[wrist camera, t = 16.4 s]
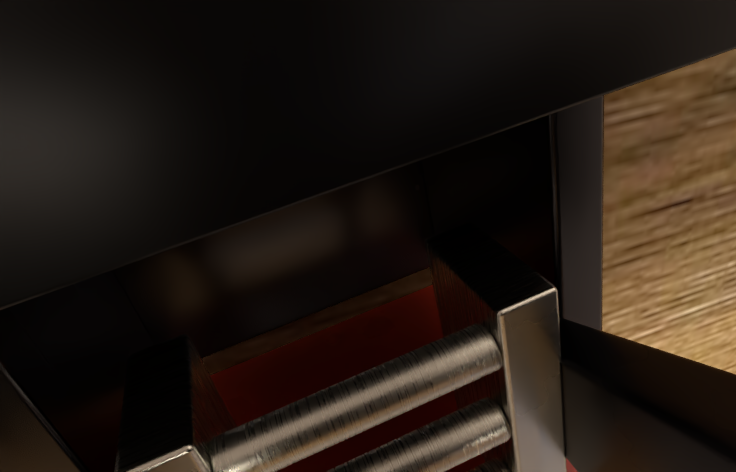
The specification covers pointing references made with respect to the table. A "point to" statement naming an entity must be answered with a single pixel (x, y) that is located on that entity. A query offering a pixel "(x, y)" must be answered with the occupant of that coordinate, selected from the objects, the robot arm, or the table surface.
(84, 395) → the red drawer
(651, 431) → the robot arm
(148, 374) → the wire rack
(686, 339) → the table surface
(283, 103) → the mini drawer cabinet
